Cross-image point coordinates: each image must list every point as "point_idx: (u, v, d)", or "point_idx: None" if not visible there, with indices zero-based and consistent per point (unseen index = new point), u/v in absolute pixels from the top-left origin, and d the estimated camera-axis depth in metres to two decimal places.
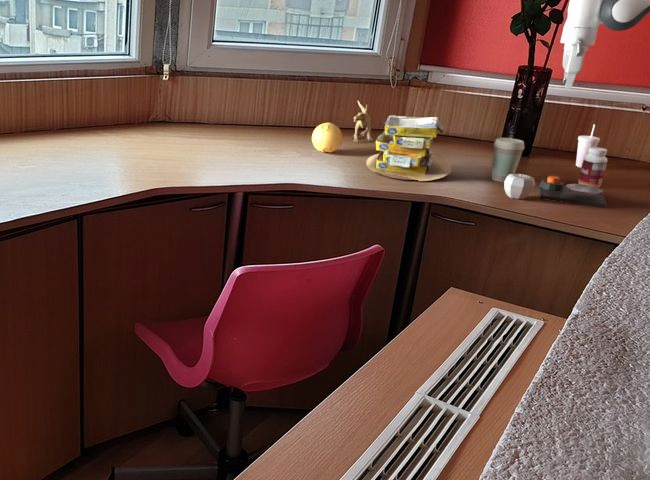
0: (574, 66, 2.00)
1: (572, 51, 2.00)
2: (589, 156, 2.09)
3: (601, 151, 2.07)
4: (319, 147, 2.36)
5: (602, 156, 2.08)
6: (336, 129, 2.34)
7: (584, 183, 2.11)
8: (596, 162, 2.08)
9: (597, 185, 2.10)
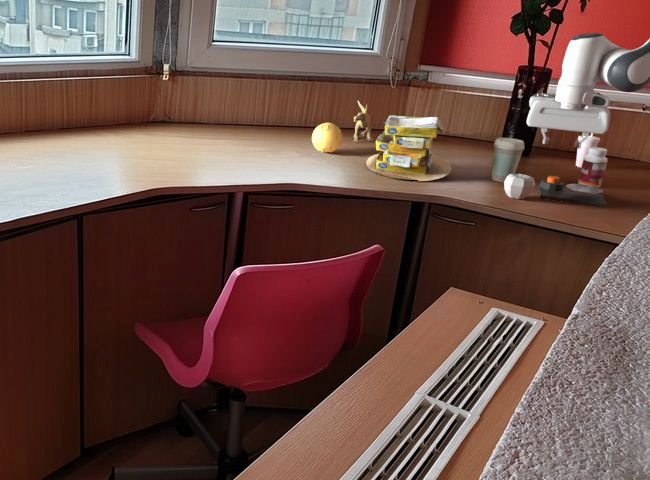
0: (527, 117, 2.01)
1: None
2: (589, 156, 2.09)
3: (601, 151, 2.07)
4: (319, 147, 2.36)
5: (602, 156, 2.08)
6: (336, 129, 2.34)
7: (584, 183, 2.11)
8: (596, 162, 2.08)
9: (597, 185, 2.10)
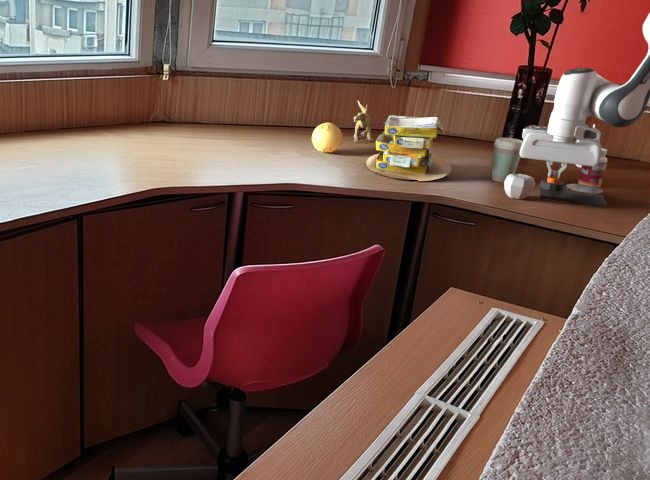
0: (520, 149, 2.04)
1: None
2: None
3: (601, 151, 2.07)
4: (319, 147, 2.36)
5: (602, 156, 2.08)
6: (336, 129, 2.34)
7: (584, 183, 2.11)
8: None
9: (597, 185, 2.10)
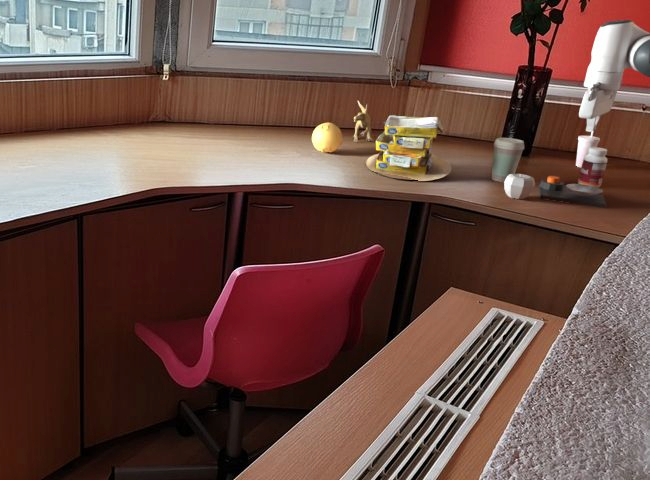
0: (586, 111, 1.95)
1: (584, 95, 1.94)
2: (589, 156, 2.09)
3: (601, 151, 2.07)
4: (319, 147, 2.36)
5: (602, 156, 2.08)
6: (336, 129, 2.34)
7: (584, 183, 2.11)
8: (596, 162, 2.08)
9: (597, 185, 2.10)
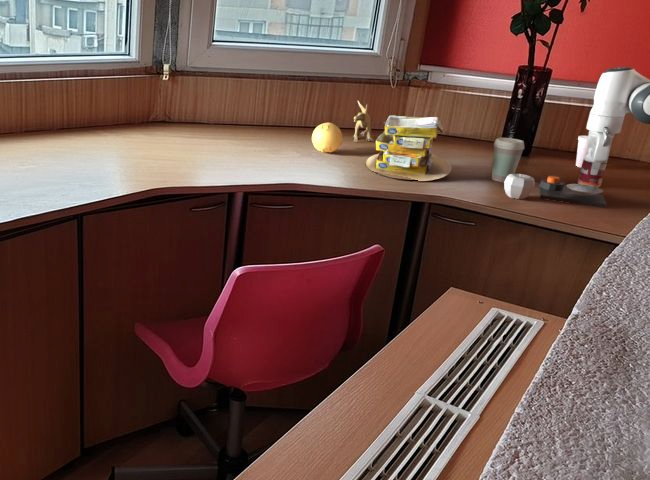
0: (601, 155, 2.01)
1: (599, 141, 2.00)
2: (589, 156, 2.09)
3: None
4: (319, 147, 2.36)
5: None
6: (336, 129, 2.34)
7: (584, 183, 2.11)
8: None
9: (597, 185, 2.10)
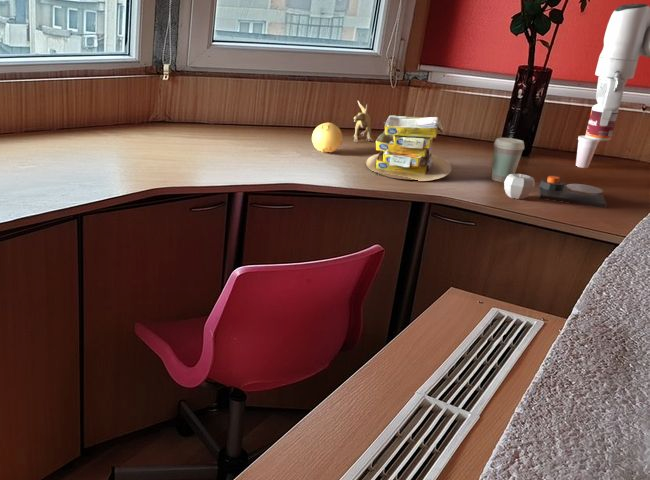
0: (612, 102, 1.80)
1: (610, 86, 1.80)
2: (598, 105, 1.89)
3: None
4: (319, 147, 2.36)
5: None
6: (336, 129, 2.34)
7: (592, 136, 1.91)
8: None
9: (607, 138, 1.90)
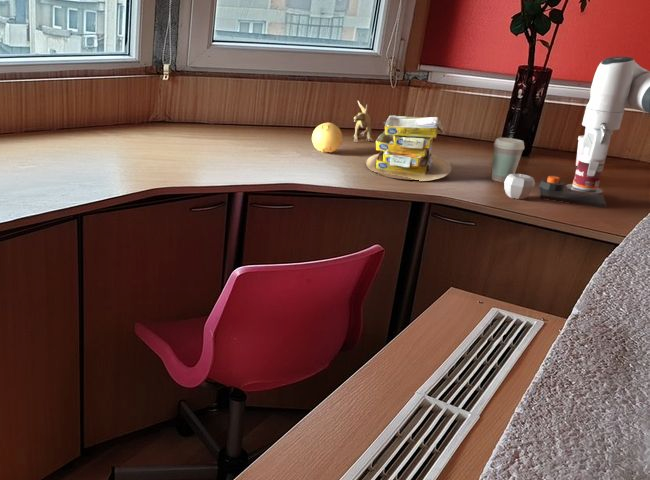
0: (598, 154, 1.83)
1: (596, 138, 1.83)
2: (585, 156, 1.92)
3: None
4: (319, 147, 2.36)
5: None
6: (336, 129, 2.34)
7: (579, 186, 1.94)
8: None
9: (593, 188, 1.93)
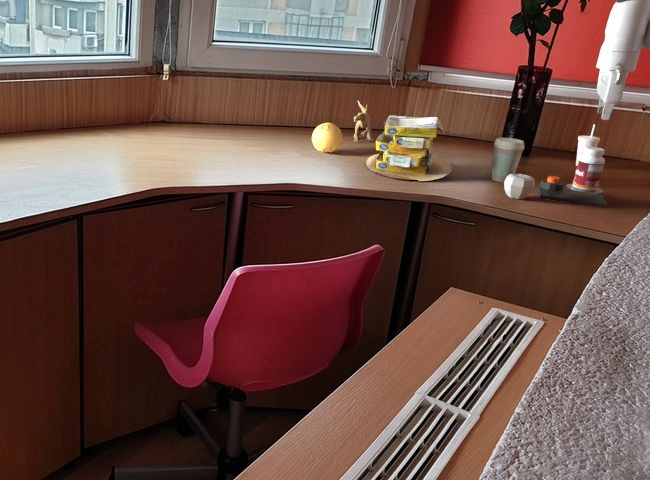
0: (613, 95, 1.77)
1: (611, 78, 1.77)
2: (585, 156, 1.92)
3: (598, 151, 1.90)
4: (319, 147, 2.36)
5: (599, 156, 1.90)
6: (336, 129, 2.34)
7: (579, 186, 1.94)
8: (592, 163, 1.90)
9: (593, 188, 1.93)
